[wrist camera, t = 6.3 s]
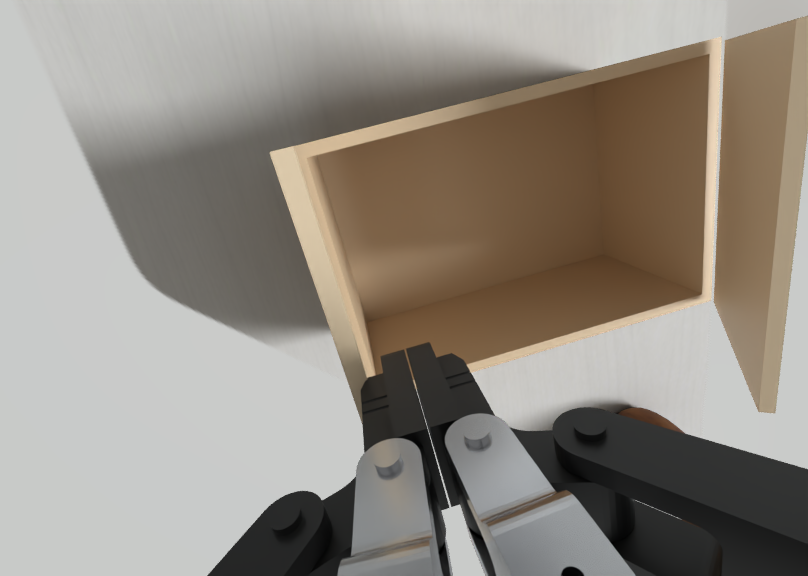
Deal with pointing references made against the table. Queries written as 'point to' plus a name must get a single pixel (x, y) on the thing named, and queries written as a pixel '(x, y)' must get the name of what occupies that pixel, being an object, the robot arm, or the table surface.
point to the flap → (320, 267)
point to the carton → (526, 211)
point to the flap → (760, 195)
